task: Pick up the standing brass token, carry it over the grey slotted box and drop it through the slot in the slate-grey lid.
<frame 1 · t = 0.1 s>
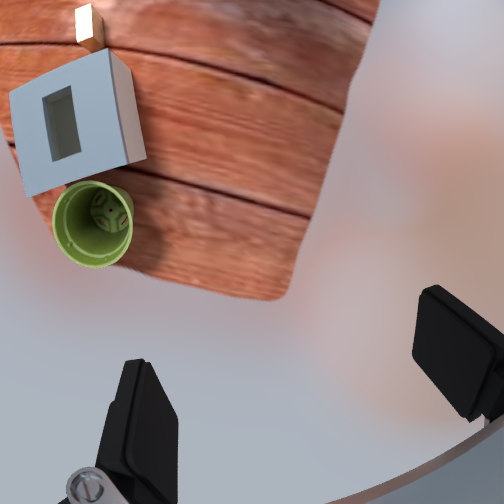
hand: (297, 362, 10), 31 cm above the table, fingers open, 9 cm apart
plant pot: (113, 208, 37), on the table
token: (96, 34, 28), on the table
grey slotted box: (94, 126, 33), on the table
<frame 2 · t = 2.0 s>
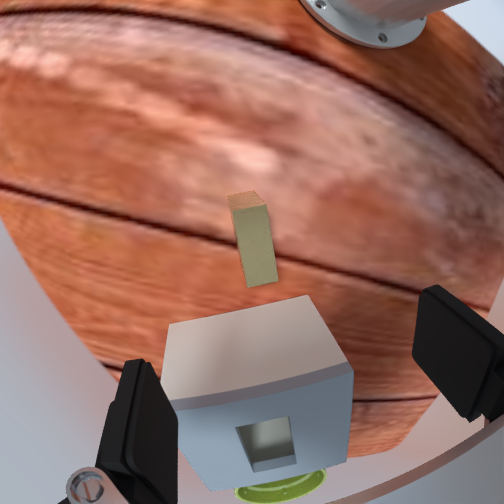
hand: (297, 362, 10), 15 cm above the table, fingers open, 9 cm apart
plant pot: (266, 426, 32), on the table
token: (246, 225, 23), on the table
grey slotted box: (250, 362, 28), on the table
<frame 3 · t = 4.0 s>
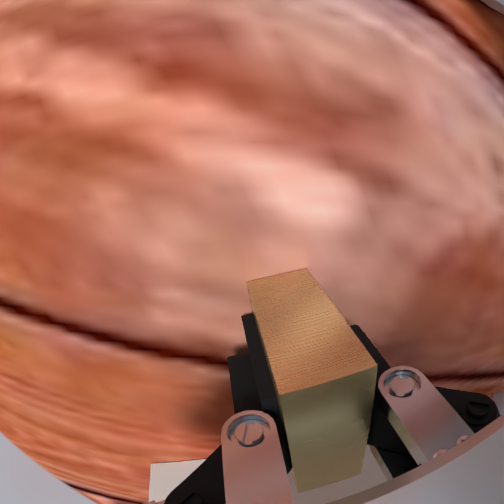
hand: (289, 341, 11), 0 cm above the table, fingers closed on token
token: (286, 336, 11), on the table, touching gripper
grey slotted box: (276, 491, 15), on the table
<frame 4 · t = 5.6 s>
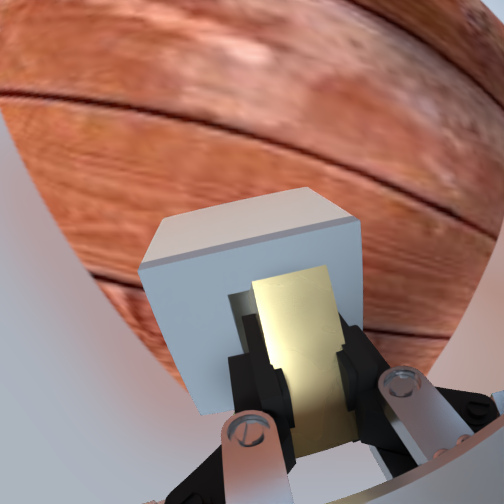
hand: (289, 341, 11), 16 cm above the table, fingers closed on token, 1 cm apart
token: (285, 349, 12), point 15 cm above the table, tilted 35°, touching gripper
grey slotted box: (249, 267, 27), on the table
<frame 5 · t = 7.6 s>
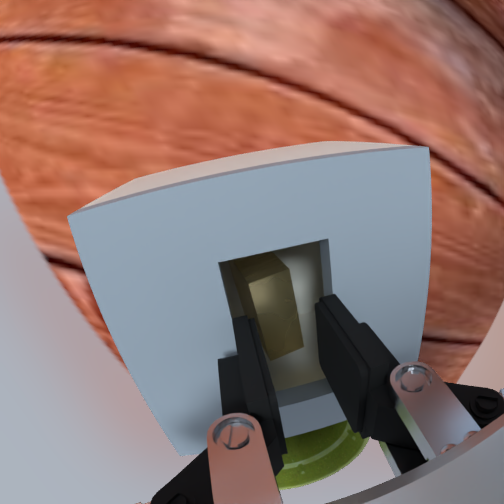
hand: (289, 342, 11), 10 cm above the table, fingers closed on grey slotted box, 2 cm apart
plant pot: (273, 372, 24), on the table
token: (249, 276, 19), point 1 cm above the table, tilted 9°, touching grey slotted box
grey slotted box: (250, 249, 20), on the table
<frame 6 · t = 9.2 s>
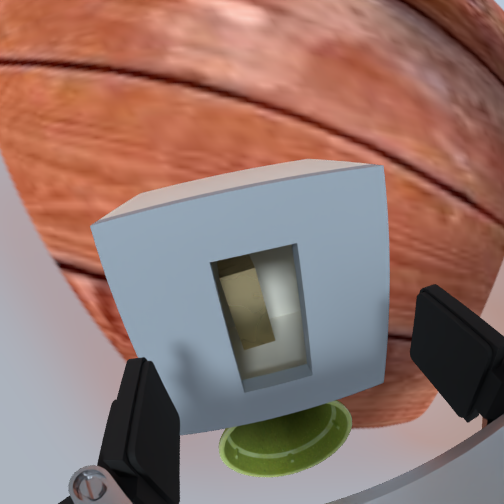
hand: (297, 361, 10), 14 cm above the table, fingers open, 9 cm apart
plant pot: (264, 369, 26), on the table
token: (239, 278, 22), point 1 cm above the table, touching grey slotted box
grey slotted box: (240, 255, 23), on the table
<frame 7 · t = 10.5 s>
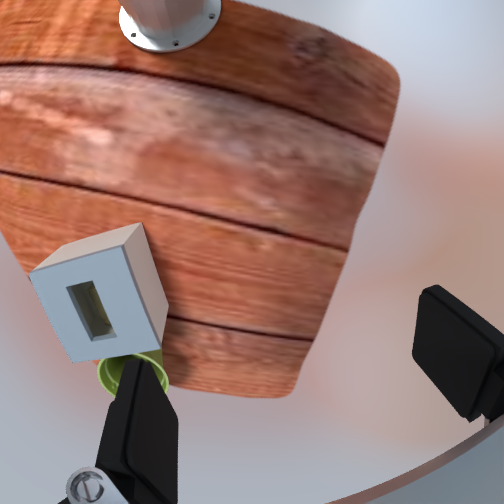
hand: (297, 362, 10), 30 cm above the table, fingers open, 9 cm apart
plant pot: (142, 341, 43), on the table
token: (113, 288, 38), point 1 cm above the table, touching grey slotted box
grey slotted box: (114, 275, 39), on the table
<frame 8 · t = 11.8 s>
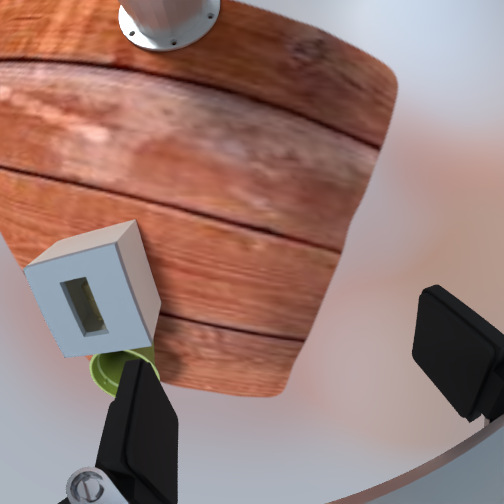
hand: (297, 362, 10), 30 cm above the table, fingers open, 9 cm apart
plant pot: (134, 337, 43), on the table
token: (106, 284, 38), point 1 cm above the table, touching grey slotted box
grey slotted box: (108, 272, 39), on the table
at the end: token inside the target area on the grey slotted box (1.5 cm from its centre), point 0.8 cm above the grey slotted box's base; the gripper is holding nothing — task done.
